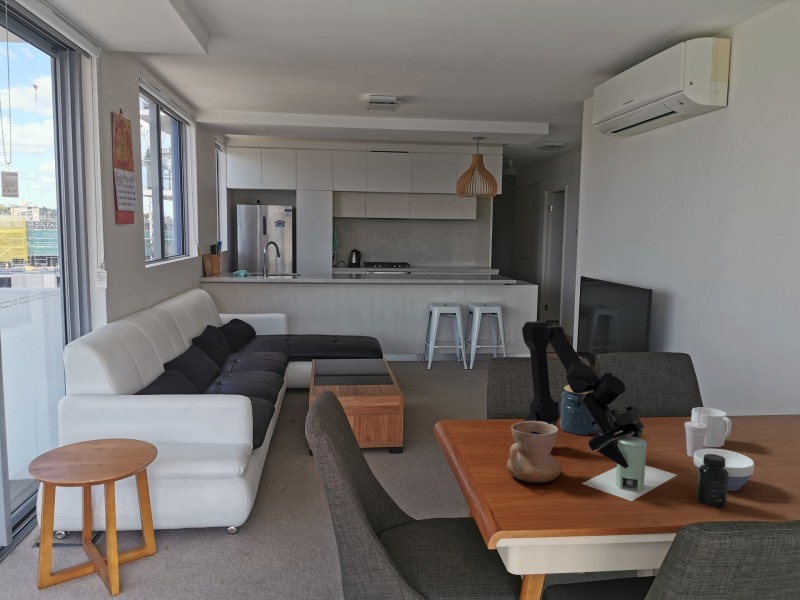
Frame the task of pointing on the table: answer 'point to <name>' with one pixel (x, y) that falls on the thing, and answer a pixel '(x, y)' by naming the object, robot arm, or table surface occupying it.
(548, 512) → the table surface
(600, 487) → the off-white mat
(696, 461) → the bowl
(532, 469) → the ceramic jug
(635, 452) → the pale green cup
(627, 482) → the steel ball
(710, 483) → the supplement bottle
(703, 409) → the mug
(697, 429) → the smoothie
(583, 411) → the canister
